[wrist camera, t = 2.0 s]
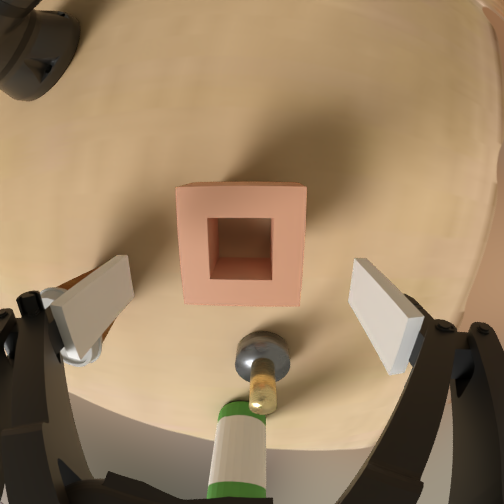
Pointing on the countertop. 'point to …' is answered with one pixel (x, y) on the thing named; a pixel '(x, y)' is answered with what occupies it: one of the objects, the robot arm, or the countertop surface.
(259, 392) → the light bulb
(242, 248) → the stand
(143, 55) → the countertop surface
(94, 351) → the disposable coffee cup
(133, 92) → the countertop surface
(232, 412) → the wine bottle
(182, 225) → the square frame block
